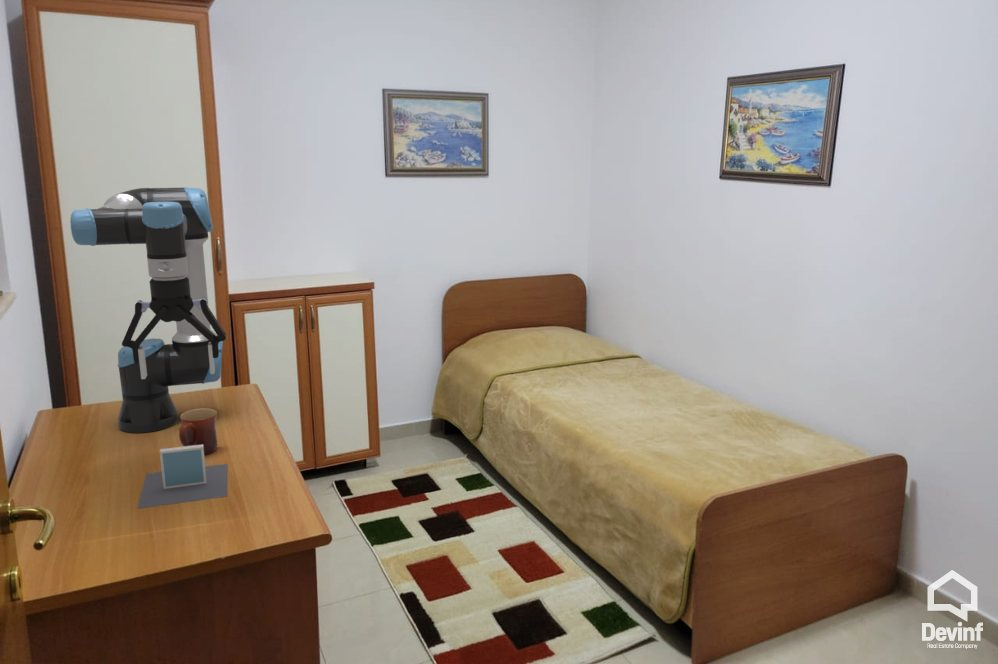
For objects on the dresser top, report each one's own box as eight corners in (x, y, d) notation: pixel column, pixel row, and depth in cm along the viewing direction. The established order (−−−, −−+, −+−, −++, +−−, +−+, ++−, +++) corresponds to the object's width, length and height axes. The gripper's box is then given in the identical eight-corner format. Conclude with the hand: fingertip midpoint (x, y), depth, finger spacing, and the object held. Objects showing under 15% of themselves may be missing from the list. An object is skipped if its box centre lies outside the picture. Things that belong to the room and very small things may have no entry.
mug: (197, 443, 190) (193, 406, 187) (227, 446, 188) (224, 409, 186) (168, 462, 178) (163, 423, 176) (200, 466, 177) (196, 426, 174)
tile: (164, 485, 165) (160, 449, 163) (206, 480, 168) (203, 444, 166) (163, 488, 164) (159, 451, 162) (206, 483, 167) (203, 447, 164)
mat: (146, 475, 171) (146, 473, 171) (227, 465, 177) (227, 463, 177) (137, 510, 155) (137, 508, 155) (227, 498, 161) (226, 496, 161)
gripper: (98, 283, 144) (111, 384, 149) (232, 278, 151) (239, 375, 156) (106, 276, 151) (118, 374, 156) (233, 272, 158) (240, 365, 163)
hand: (178, 374), depth 156 cm, fingers open, 13 cm apart
